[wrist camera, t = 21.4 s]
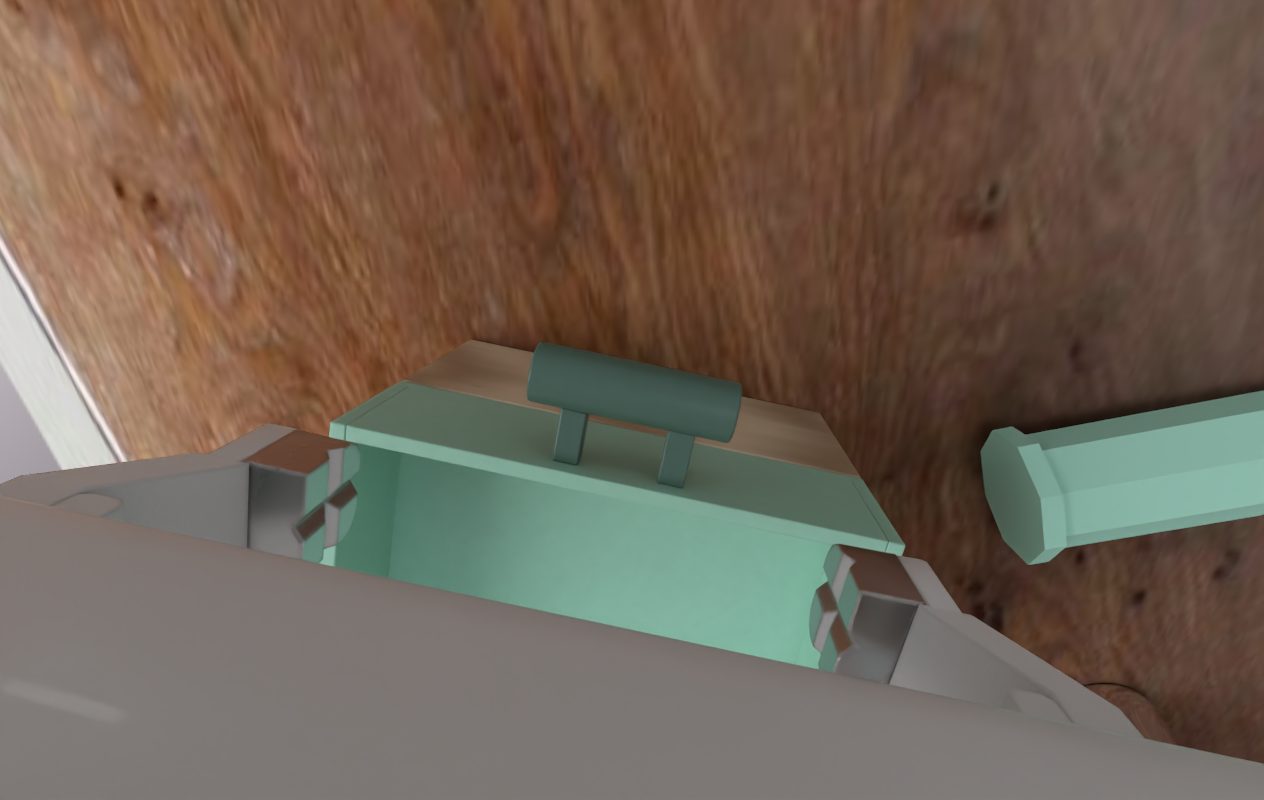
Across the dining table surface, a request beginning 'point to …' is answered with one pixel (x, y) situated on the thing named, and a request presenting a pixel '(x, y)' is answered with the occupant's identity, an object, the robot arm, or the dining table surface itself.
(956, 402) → the dining table surface
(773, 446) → the riser
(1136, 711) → the beer glass
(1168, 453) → the container
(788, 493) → the green drawer
